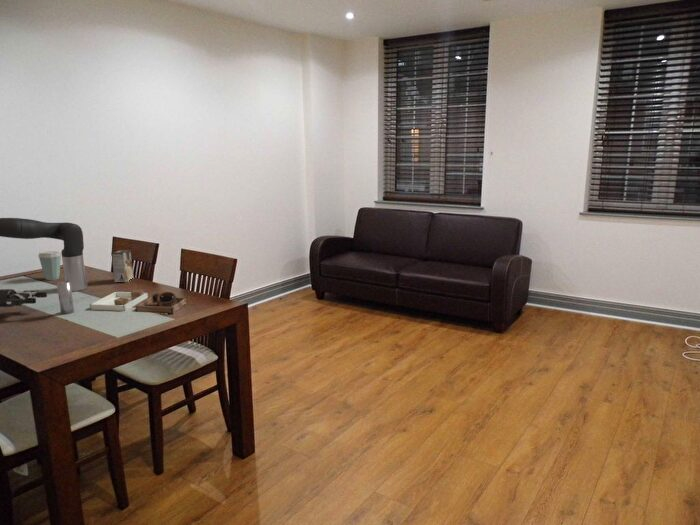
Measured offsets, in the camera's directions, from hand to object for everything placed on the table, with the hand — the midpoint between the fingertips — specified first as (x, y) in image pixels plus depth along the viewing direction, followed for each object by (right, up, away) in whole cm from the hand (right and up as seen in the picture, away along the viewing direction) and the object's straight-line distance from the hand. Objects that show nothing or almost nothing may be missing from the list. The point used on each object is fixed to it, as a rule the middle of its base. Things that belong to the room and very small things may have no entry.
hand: (41, 297), depth 213 cm
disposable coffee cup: (-30, +6, +60) cm, 67 cm away
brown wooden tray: (+47, -5, +11) cm, 49 cm away
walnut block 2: (+32, -2, +21) cm, 38 cm away
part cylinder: (+10, -7, +2) cm, 12 cm away
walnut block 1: (+30, -5, +8) cm, 32 cm away
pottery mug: (+48, -5, +12) cm, 50 cm away
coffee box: (+10, +5, +56) cm, 57 cm away
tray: (+27, -4, +15) cm, 31 cm away
